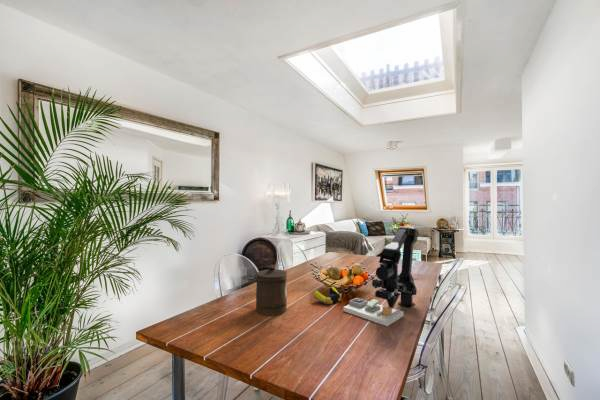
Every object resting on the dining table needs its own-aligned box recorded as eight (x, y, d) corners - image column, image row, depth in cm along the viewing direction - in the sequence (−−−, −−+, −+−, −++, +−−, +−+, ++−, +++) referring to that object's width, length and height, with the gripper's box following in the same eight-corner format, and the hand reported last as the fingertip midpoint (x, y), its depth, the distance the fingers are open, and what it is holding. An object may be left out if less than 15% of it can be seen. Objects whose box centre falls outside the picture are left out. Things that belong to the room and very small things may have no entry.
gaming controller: (312, 301, 151) (325, 307, 143) (312, 291, 151) (325, 296, 143) (332, 295, 160) (345, 300, 153) (332, 285, 160) (345, 290, 153)
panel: (360, 303, 148) (360, 295, 148) (403, 316, 132) (403, 307, 132) (343, 311, 138) (343, 302, 138) (387, 326, 121) (387, 316, 121)
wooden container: (292, 309, 139) (293, 264, 139) (269, 318, 129) (269, 270, 129) (272, 302, 150) (272, 260, 150) (249, 310, 139) (249, 264, 139)
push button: (357, 302, 143) (357, 298, 143) (364, 304, 141) (364, 300, 141) (352, 304, 141) (352, 300, 141) (359, 306, 138) (359, 302, 138)
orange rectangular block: (384, 312, 130) (384, 305, 130) (391, 314, 128) (392, 307, 128) (382, 313, 129) (382, 306, 129) (389, 316, 126) (389, 308, 126)
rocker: (373, 300, 138) (373, 298, 138) (379, 302, 136) (378, 300, 136) (366, 306, 134) (366, 304, 134) (372, 308, 132) (372, 306, 132)
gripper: (385, 268, 143) (385, 299, 143) (364, 275, 130) (364, 309, 130) (406, 272, 135) (406, 305, 135) (387, 280, 122) (387, 317, 122)
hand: (391, 309), depth 131 cm, fingers closed
